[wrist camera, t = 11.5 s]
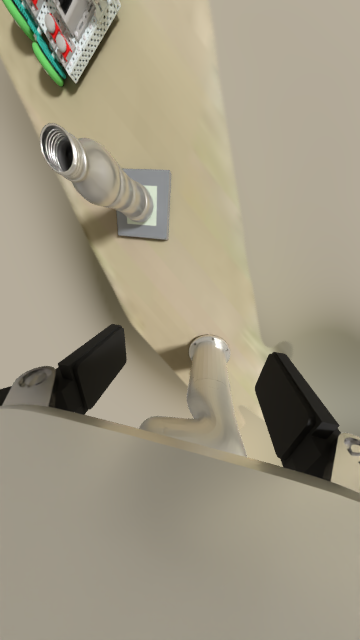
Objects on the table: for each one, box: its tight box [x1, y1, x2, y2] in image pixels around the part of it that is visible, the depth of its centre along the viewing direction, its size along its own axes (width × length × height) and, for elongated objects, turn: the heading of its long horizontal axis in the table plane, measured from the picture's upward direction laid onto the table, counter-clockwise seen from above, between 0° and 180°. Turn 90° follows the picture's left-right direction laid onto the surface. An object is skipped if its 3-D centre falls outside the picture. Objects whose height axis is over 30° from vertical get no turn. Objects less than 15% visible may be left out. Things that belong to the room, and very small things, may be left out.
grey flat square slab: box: [116, 169, 171, 240], centre depth 33 cm, size 12×12×2 cm
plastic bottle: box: [40, 123, 154, 222], centre depth 23 cm, size 6×7×20 cm
